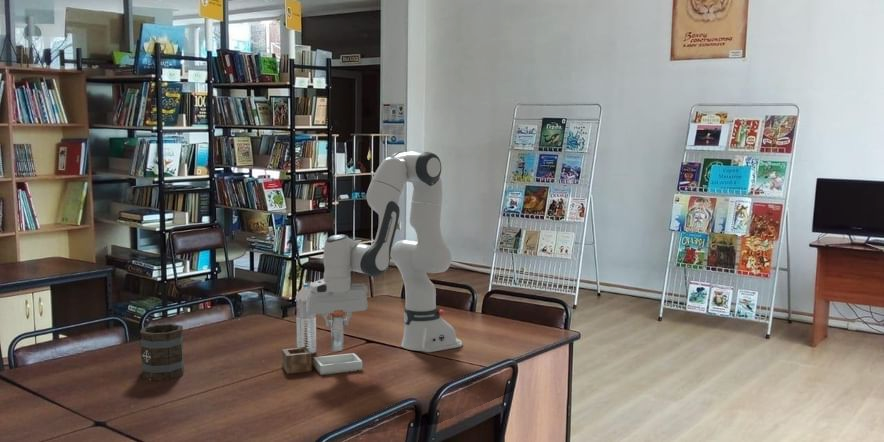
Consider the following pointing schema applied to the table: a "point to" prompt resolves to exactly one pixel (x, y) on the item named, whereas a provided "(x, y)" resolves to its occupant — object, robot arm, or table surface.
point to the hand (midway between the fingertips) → (337, 325)
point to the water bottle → (305, 322)
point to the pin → (337, 330)
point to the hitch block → (296, 360)
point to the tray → (337, 363)
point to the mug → (162, 351)
